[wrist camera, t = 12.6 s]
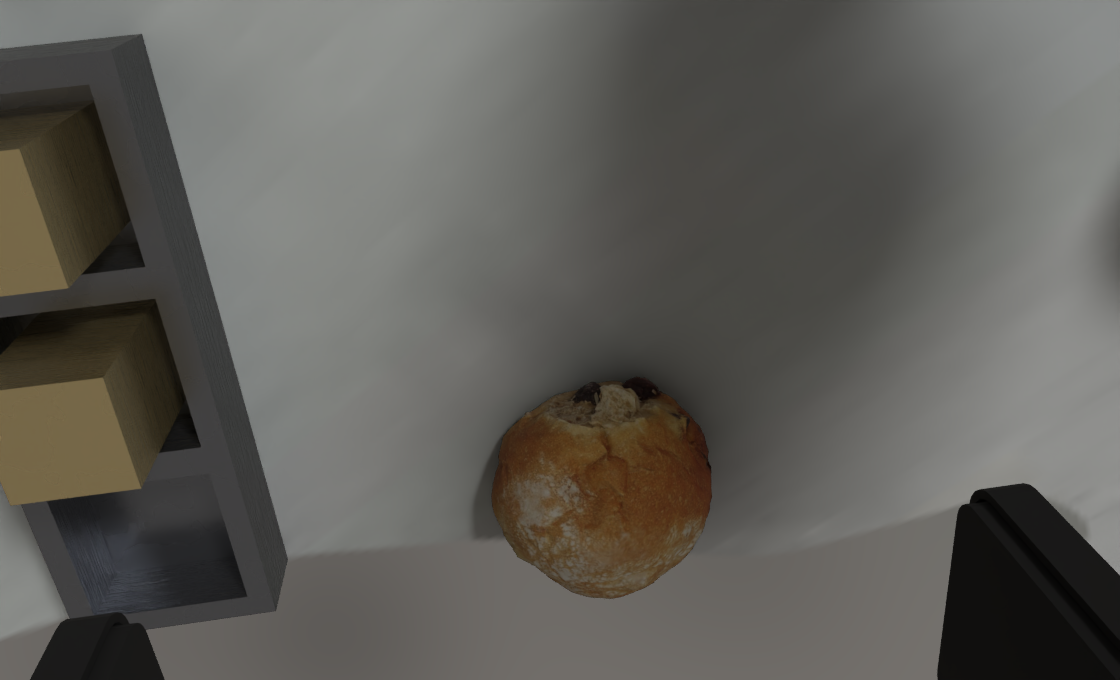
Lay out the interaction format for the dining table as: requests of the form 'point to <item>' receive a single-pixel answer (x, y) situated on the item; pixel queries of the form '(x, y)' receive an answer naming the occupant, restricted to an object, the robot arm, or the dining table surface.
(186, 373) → the grey compartment tray
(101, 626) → the robot arm
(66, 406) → the tan cubic block
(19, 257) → the khaki cardboard box
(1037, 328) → the dining table surface
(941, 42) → the dining table surface
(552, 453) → the bread roll
